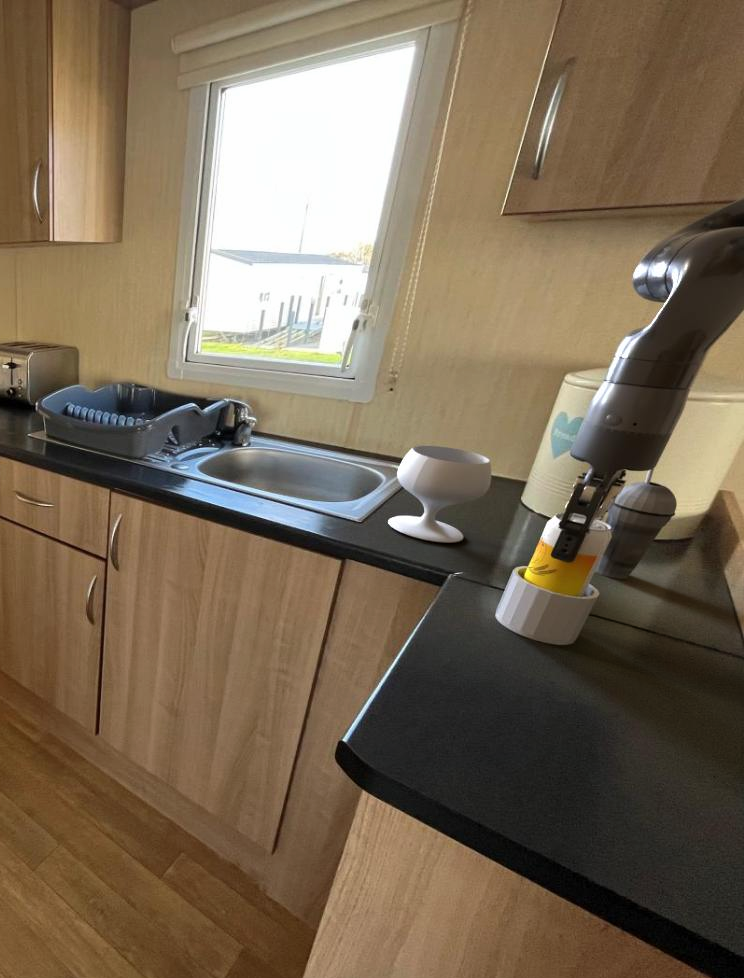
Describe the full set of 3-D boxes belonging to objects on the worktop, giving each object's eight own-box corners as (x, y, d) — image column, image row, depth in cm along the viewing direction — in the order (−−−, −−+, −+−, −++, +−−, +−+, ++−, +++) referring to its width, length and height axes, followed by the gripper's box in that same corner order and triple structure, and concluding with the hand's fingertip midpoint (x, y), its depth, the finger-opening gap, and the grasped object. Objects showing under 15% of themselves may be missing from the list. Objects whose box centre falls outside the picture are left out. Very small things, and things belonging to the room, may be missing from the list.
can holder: (582, 630, 74) (605, 585, 71) (567, 653, 69) (591, 605, 66) (505, 602, 80) (523, 560, 77) (486, 622, 75) (505, 577, 73)
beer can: (511, 605, 78) (553, 508, 72) (567, 623, 74) (616, 522, 68) (504, 621, 74) (548, 520, 68) (563, 641, 71) (615, 535, 65)
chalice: (431, 550, 96) (460, 468, 90) (365, 520, 108) (386, 446, 102) (487, 541, 100) (518, 463, 94) (417, 513, 112) (441, 442, 106)
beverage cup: (637, 588, 86) (703, 465, 78) (576, 570, 91) (631, 453, 83) (641, 574, 90) (703, 456, 82) (582, 558, 95) (635, 446, 87)
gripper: (664, 439, 57) (594, 580, 63) (681, 422, 65) (618, 549, 72) (570, 424, 62) (515, 556, 69) (597, 411, 70) (545, 530, 77)
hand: (568, 552), depth 70 cm, fingers closed on beer can, 6 cm apart
